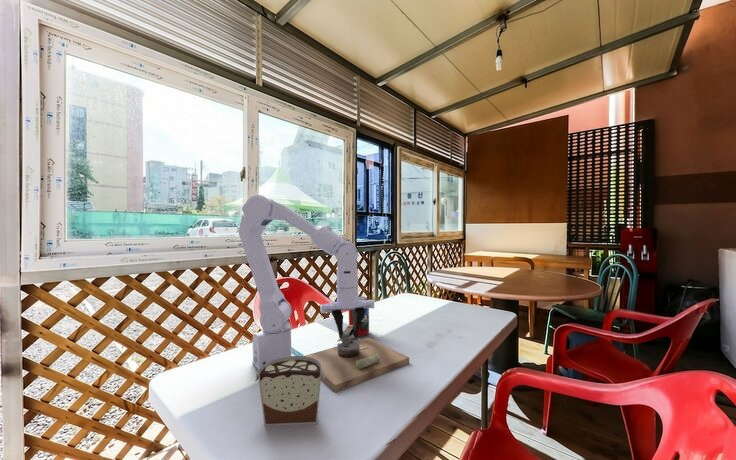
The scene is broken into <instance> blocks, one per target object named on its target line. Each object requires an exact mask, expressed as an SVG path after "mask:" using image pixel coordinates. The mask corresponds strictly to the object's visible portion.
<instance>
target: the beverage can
mask: <svg viewBox="0 0 736 460" xmlns="http://www.w3.org/2000/svg"><path fill="white" fill-rule="evenodd" d="M358 300H368V298H367V297H366V296H363V295H361V296H360V295H358ZM364 311H365V315H364V317H363V319H362V321H361V324H360V327H359V331H358V337H364V336H366V335H367V334H368V333H370V308H364ZM349 325H353V314H352V310H348V326H349Z"/></svg>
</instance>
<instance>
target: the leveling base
mask: <svg viewBox="0 0 736 460" xmlns="http://www.w3.org/2000/svg"><path fill="white" fill-rule="evenodd" d="M359 345H360V353H359V354H358V355H356V356H352V357H343V356H340V355H338V353H337V346H335V347H331V348H327V349H324V350H319V351H316V352H312V353H309V354H306V355H304V356H308V357H312V358H315V359H317V360H318V361H319V362H320V363H321V366H322V367H323V372H324V376H325V378H324V379H323V375H322V373H321V382H323V383H324V384H325V385H326V386H328V387H329V389H330V390H332V391H333V392H334V393H337V392H339V391H342V390H344V389H347V388H349V387H353V386H355V385H357V384H360V383H362V382H363V383H364V382H365V381H367V380H369V379H370V380H371V379H373V378H376V377H378V376H380V375H383V374H386V373H388V372H390V371H393V370H395V369H398V368H401V367H404V366H406V365H409V364H410V356H407V355H405V354H404V353H400V352H399V351H397V350H394V349H392V348H391V347H389V346H386V345H385V344H382V343H380V342H379V341H376V340H374V339H373V338H370V337H364V338H362V339H359Z"/></svg>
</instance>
